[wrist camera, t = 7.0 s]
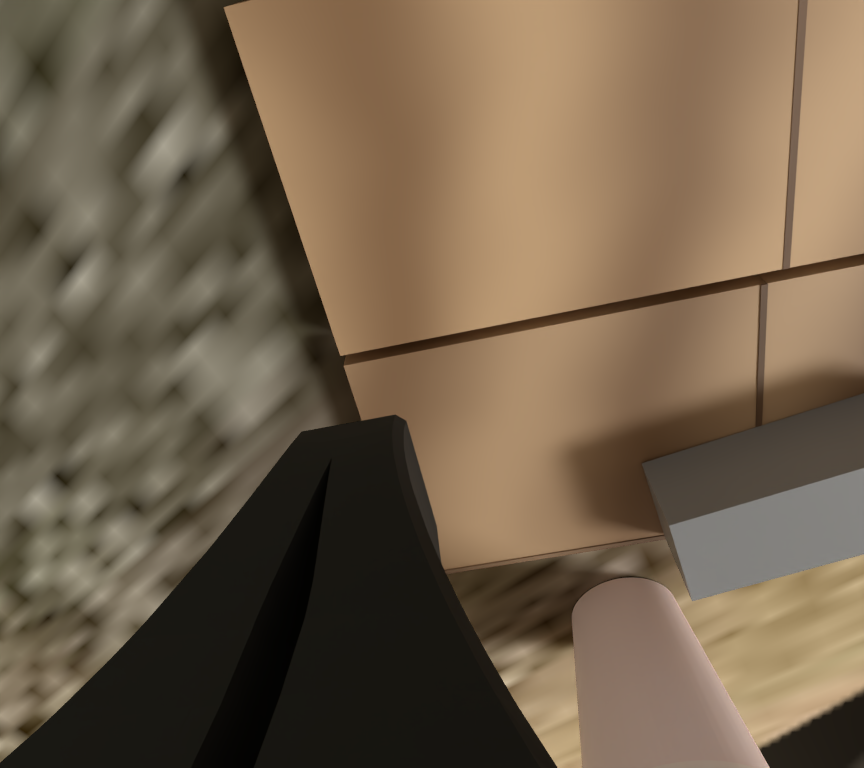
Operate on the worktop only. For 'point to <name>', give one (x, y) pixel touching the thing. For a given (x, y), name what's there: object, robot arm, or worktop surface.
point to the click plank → (553, 149)
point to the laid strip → (606, 403)
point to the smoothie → (650, 685)
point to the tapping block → (764, 499)
